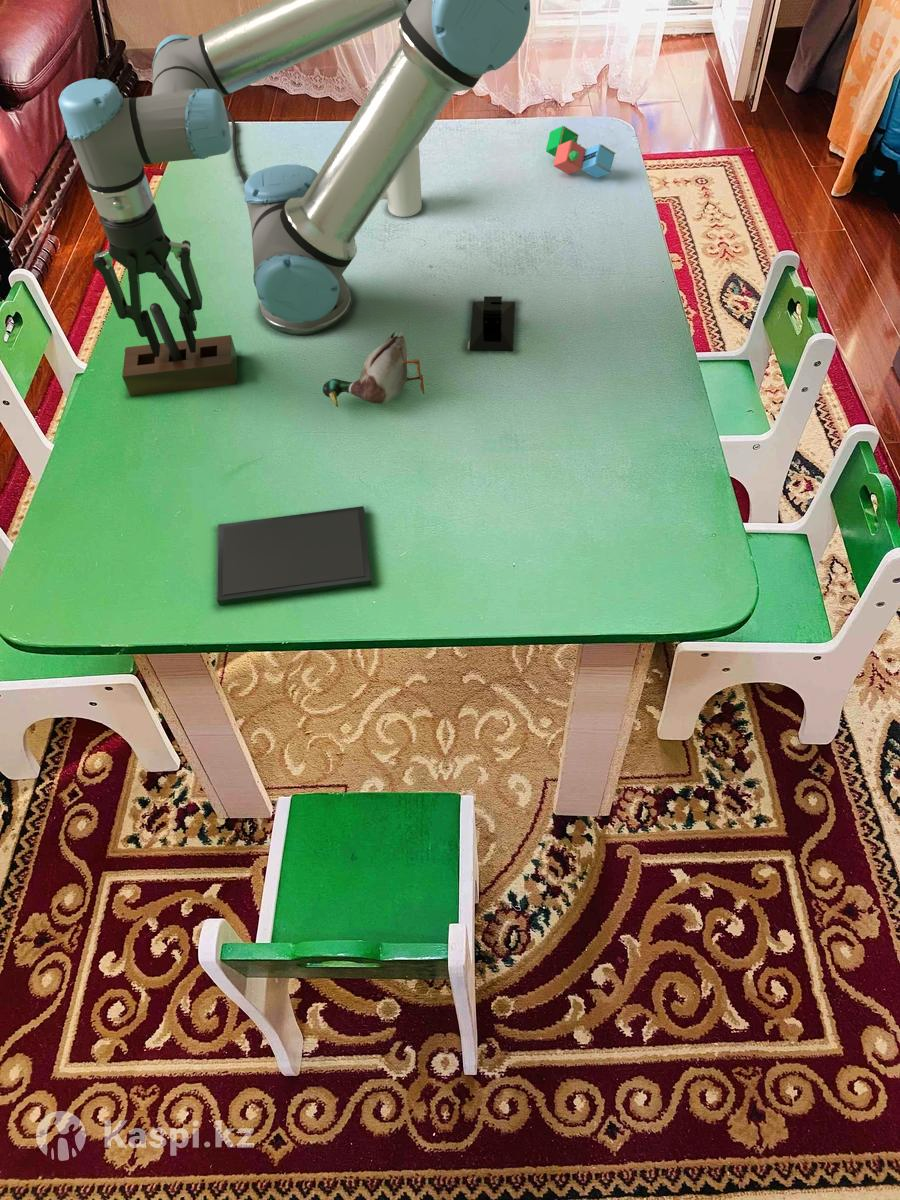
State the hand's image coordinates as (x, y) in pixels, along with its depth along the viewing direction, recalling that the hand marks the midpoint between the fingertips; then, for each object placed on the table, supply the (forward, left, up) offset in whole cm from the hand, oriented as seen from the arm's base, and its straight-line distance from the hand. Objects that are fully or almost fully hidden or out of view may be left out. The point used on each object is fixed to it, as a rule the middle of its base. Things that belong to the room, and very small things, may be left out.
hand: (175, 348), depth 142 cm
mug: (-40, +38, -5) cm, 55 cm away
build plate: (-3, +50, -5) cm, 50 cm away
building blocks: (-47, +74, -5) cm, 88 cm away
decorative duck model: (+8, +30, -5) cm, 32 cm away
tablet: (+40, +16, -5) cm, 43 cm away
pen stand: (0, 0, -5) cm, 5 cm away
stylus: (0, 0, -5) cm, 5 cm away
